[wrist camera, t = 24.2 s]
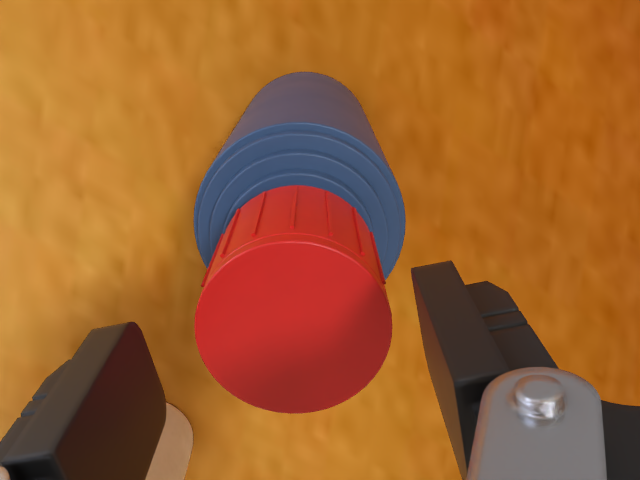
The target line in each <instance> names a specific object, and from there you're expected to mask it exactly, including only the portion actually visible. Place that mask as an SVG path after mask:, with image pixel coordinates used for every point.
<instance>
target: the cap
mask: <svg viewBox="0 0 640 480" xmlns="http://www.w3.org/2000/svg"><path fill="white" fill-rule="evenodd" d="M384 284H386V282H385V278H384V274H383V270H382V266H381V263H380V259H379V255H378V251H377V247H376V243H375V239H374V236H373V233H372V232H370V231H369V229H368V226H367V225H366V223H365V221H364V220H363V218H362V217H361V216H360V214H359V213H358V212H357V210H356V208H355V207H352V206H351V205H350V204H349V203H348V202H346V201H345V200H343V199H342V198H341V197H339V196H337V195H335V194H333V193H331V192H329V191H326V190H323V189H320V188H316V187H312V186H303V185H290V186H283V187H278V188H274V189H271V190H268V191H266V192H265V191H264V192H262V193H261V194H259V195H257V196H256V197H254V198H252V199H251V200H250V201H248V202H247V203H246V204H244V205H243V206H242V207H241V208H240V209H239V208H238V209H237V211H236V213H235V215H234V217H233V218H232V219H231V221H230V223H229V225H228V227H227V228H226V231H225V234H221V237H220V239H219V242H218V244H217V247H216V249H215V252H214V254H213V257H212V259H211V262H210V264H209V267H208V269H207V272H206V274H205V277H204V279H203V282H202V284H201V286H202V287H204V288H203V290H202V293H201V296H200V298H199V301H198V304H197V308H196V313H195V324H194V329H195V339H196V343H197V347H198V350H199V353H200V355H201V358H202V360H203V362H204V364H205V365H206V367H207V369H208V370H209V372H210V373H211V374H212V376H213V377H214V378H215V380H216V381H217V382H218V383H219V384H220V385H221V386H222V387H224V388H225V389H226V390H227V391H229V392H230V393H231V394H232V395H234V396H236V397H237V398H239V399H241V400H242V401H244V402H246V403H248V404H251V405H253V406H255V407H259V408H262V409H265V410H269V411H274V412H280V413H308V412H315V411H319V410H324V409H327V408H330V407H333V406H335V405H338V404H340V403H342V402H344V401H346V400H348V399H349V398H351V397H352V396H354V395H356V394H357V393H358V392H360V391H361V390H362V389H363V388H364V387H365V386H367V384H368V383H369V382H370V381H371V380H372V379H373V378H374V377H375V375H376V374H377V372H378V371H379V370H380V368H381V366H382V364H383V362H384V360H385V359H386V356H387V353H388V350H389V347H390V343H391V337H392V318H391V317H392V314H391V310H390V306H389V302H388V298H387V294H386V290H385V286H384Z"/></svg>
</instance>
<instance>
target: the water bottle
mask: <svg viewBox="0 0 640 480" xmlns="http://www.w3.org/2000/svg"><path fill="white" fill-rule="evenodd" d="M290 185H303V186H312V187H316V188H320V189H323V190H326V191H329V192H331V193H333V194H335V195H337V196H339V197H341V198H342V199H343V200H345V201H346V202H348V203H349V204H350V205H351V206H352V207H355V208H356V210H357V212H358V213H359V214H360V216H361V217H362V218H363V220H364V221H365V223H366V225H367V226H368V229H369V231H370V232H372V233H373V236H374V239H375V243H376V247H377V251H378V255H379V259H380V263H381V266H382V270H383V274H384V278H385V280H386V279H387V277H388V276H389V274H390V273H391V271H392V270H393V268H394V266H395V264H396V262H397V260H398V258H399V255H400V252H401V248H402V245H403V240H404V235H405V209H404V203H403V199H402V195H401V192H400V189H399V187H398V184H397V182H396V180H395V177H394V175H393V173H392V171H391V169H390V167H389V165H388V162H387V160H386V158H385V156H384V154H383V152H382V150H381V147H380V145H379V143H378V141H377V139H376V137H375V135H374V132H373V130H372V128H371V126H370V124H369V122H368V120H367V117H366V115H365V113H364V111H363V109H362V107H361V105H360V103H359V102H358V100H357V99H356V97H355V96H354V95H353V94H352V93H351V91H350V90H349V89H348V88H346V87H345V86H344V85H343V84H341V83H340V82H338V81H336V80H335V79H333V78H331V77H328V76H326V75H322V74H319V73H312V72H297V73H291V74H287V75H284V76H281V77H279V78H277V79H275V80H273V81H272V82H270V83H268V84H267V85H266V86H265V87H264V88H262V89H261V90H260V91H259V92H258V94H257V95H256V96H255V97H254V99H253V100H252V102H251V103H250V105H249V106H248V108H247V109H246V111H245V113H244V114H243V116H242V117H241V119H240V121H239V122H238V124H237V125H236V127H235V128H234V130H233V132H232V133H231V135H230V136H229V138H228V139H227V141H226V143H225V144H224V146H223V147H222V149H221V151H220V152H219V154H218V155H217V157H216V158H215V160H214V162H213V163H212V165H211V166H210V168H209V170H208V171H207V173H206V175H205V177H204V179H203V181H202V183H201V185H200V188H199V191H198V194H197V198H196V203H195V208H194V231H195V238H196V242H197V247H198V250H199V252H200V255H201V258H202V260H203V262H204V264H205V266H206V267H207V269H208V267H209V264H210V262H211V259H212V257H213V254H214V252H215V249H216V247H217V244H218V242H219V239H220V237H221V234H225V231H226V228H227V227H228V225H229V223H230V221H231V219H232V218H233V217H234V215H235V213H236V211H237V209H238V208H239V209H240V208H241V207H242V206H243V205H244V204H246V203H247V202H248V201H250V200H251V199H252V198H254V197H256V196H257V195H259V194H261V193H262V192H264V191H265V192H266V191H268V190H271V189H274V188H278V187H283V186H290Z"/></svg>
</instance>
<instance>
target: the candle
mask: <svg viewBox="0 0 640 480" xmlns="http://www.w3.org/2000/svg"><path fill="white" fill-rule="evenodd" d="M192 447H193V431H192V427H191V425H190V423H189V421H188V419H187V418H186V417H185V416H184V414H183V413H182V412H181V411H179V410H178V409H177V408H175V407H174V406H172V405H171V404H169V403H166V422H165V425H164V428H163V431H162V434H161V437H160V440H159V442H158V445H157V448H156V451H155V454H154V456H153V459H152V462H151V465H150V468H149V470H148V473H147V476H146V479H145V480H184V478H185V475H186V471H187V467H188V464H189V460H190V456H191V452H192Z"/></svg>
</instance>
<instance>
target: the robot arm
mask: <svg viewBox="0 0 640 480" xmlns="http://www.w3.org/2000/svg"><path fill="white" fill-rule="evenodd" d="M411 274H412V281H413V287H414V293H415V299H416V305H417V310H418V316H419V322H420V328H421V334H422V340H423V345H424V351H425V355H426V360H427V364H428V369H429V372H430V376H431V379H432V383H433V386H434V389H435V392H436V396H437V399H438V402H439V405H440V409H441V412H442V415H443V418H444V422H445V425H446V428H447V431H448V435H449V438H450V441H451V444H452V447H453V451H454V454H455V457H456V460H457V464H458V467H459V470H460V473H461V477H462V480H640V406H628V405H620V404H615V403H610V402H606V401H603V400H600V396H599V394H598V392H597V391H596V390H595V388H594V387H593V386H592V385H591V384H590V383H588V382H587V381H586V380H584V379H583V378H581V377H579V376H577V375H575V374H573V373H570V372H567V371H564V370H560V369H559V368H558V367H557V365H556V364H555V362H554V361H553V359H552V358H551V356H550V355H549V353H548V352H547V350H546V349H545V347H544V346H543V344H542V343H541V341H540V340H539V338H538V337H537V335H536V334H535V332H534V331H533V329H532V328H531V326H530V325H528V324H527V320H526V319H525V317H524V316H523V314H522V313H521V311H519V310H518V307H517V305H516V304H515V302H514V301H513V299H512V298H511V296H510V295H509V293H508V292H507V291H505V290H503V289H501V288H499V287H497V286H495V285H493V284H492V283H490V282H488V281H484V282H479V283H474V284H469V285H465V284H464V283H463V281H462V279H461V277H460V275H459V273H458V271H457V269H456V267H455V266H454V264H453V262H452V261H446V262H441V263H436V264H431V265H425V266H420V267H415V268H411ZM32 398H33V401H30V402H29V403H28V404H27V406H26V407H25V408H24V410H23V411H22V413H21V417H20V418H17V420H16V421H15V422H14V424H13V425H12V427H11V428H10V429H9V431H8V432H7V434H6V435H5V436H4V438H3V439H2V441H1V442H0V480H145V479H146V476H147V473H148V470H149V468H150V465H151V462H152V459H153V456H154V454H155V451H156V448H157V445H158V442H159V440H160V437H161V434H162V431H163V428H164V425H165V422H166V399H165V394H164V391H163V388H162V385H161V382H160V380H159V377H158V374H157V371H156V369H155V366H154V363H153V360H152V358H151V355H150V352H149V350H148V347H147V344H146V341H145V339H144V336H143V333H142V331H141V329H140V328H139V326H138V325H137V324H136V323H135V322H128V323H123V324H117V325H112V326H107V327H102V328H97V329H93V330H91V332H90V333H89V334H88V336H87V337H86V339H85V340H84V342H83V343H82V344H81V346H80V347H79V349H78V350H77V352H76V353H75V355H74V356H73V358H72V359H71V360H68V361H67V362H65V363H64V364H63V365H62V366H61V367H59V368H58V369H57V370H56V371H54V372H53V373H52V374H51V375H50V376H48V377H47V378H46V379H45V381H44V382H43V383H42V385H41V386H40V388H39V389H38V390H37V392H36V393H35V395H34V396H33V397H32Z"/></svg>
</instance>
